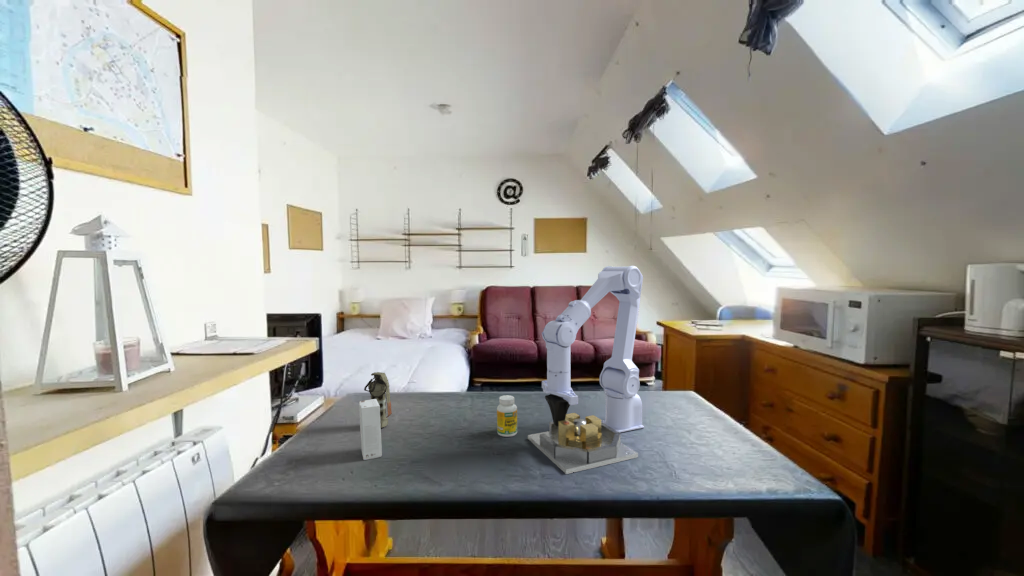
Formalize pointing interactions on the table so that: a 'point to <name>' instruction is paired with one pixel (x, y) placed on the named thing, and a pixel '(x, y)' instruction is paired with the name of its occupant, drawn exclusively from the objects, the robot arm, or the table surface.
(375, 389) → the grenade model
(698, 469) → the table surface
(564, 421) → the gold block ring
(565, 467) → the flange plate
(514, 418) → the supplement bottle
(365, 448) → the skincare box
